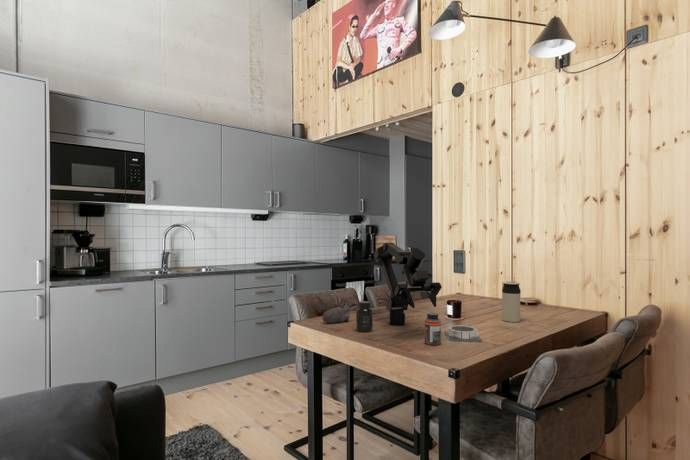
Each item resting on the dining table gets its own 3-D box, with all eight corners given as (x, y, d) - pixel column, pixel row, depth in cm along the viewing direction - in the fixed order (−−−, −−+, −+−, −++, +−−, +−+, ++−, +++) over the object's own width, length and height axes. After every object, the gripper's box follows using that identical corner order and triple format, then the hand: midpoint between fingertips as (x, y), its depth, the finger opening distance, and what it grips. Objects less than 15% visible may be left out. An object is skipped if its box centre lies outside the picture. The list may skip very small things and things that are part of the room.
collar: (449, 341, 157) (449, 332, 157) (444, 333, 169) (444, 324, 169) (481, 341, 156) (482, 332, 156) (474, 333, 168) (474, 325, 168)
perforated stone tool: (324, 325, 181) (324, 309, 181) (319, 323, 186) (319, 307, 186) (353, 321, 189) (353, 306, 189) (347, 319, 194) (348, 304, 194)
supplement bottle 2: (422, 341, 156) (422, 311, 156) (437, 341, 157) (438, 311, 157) (427, 345, 150) (427, 314, 150) (442, 345, 151) (443, 314, 151)
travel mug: (501, 321, 191) (502, 282, 191) (502, 318, 198) (502, 280, 198) (520, 323, 188) (520, 283, 188) (520, 319, 195) (520, 281, 195)
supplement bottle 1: (374, 329, 175) (374, 301, 175) (370, 333, 168) (370, 303, 168) (358, 328, 177) (359, 300, 177) (354, 331, 170) (354, 302, 170)
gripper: (397, 263, 162) (409, 295, 151) (439, 262, 167) (454, 293, 157) (389, 281, 170) (400, 312, 159) (430, 279, 175) (443, 310, 164)
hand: (424, 307), depth 159 cm, fingers open, 9 cm apart
